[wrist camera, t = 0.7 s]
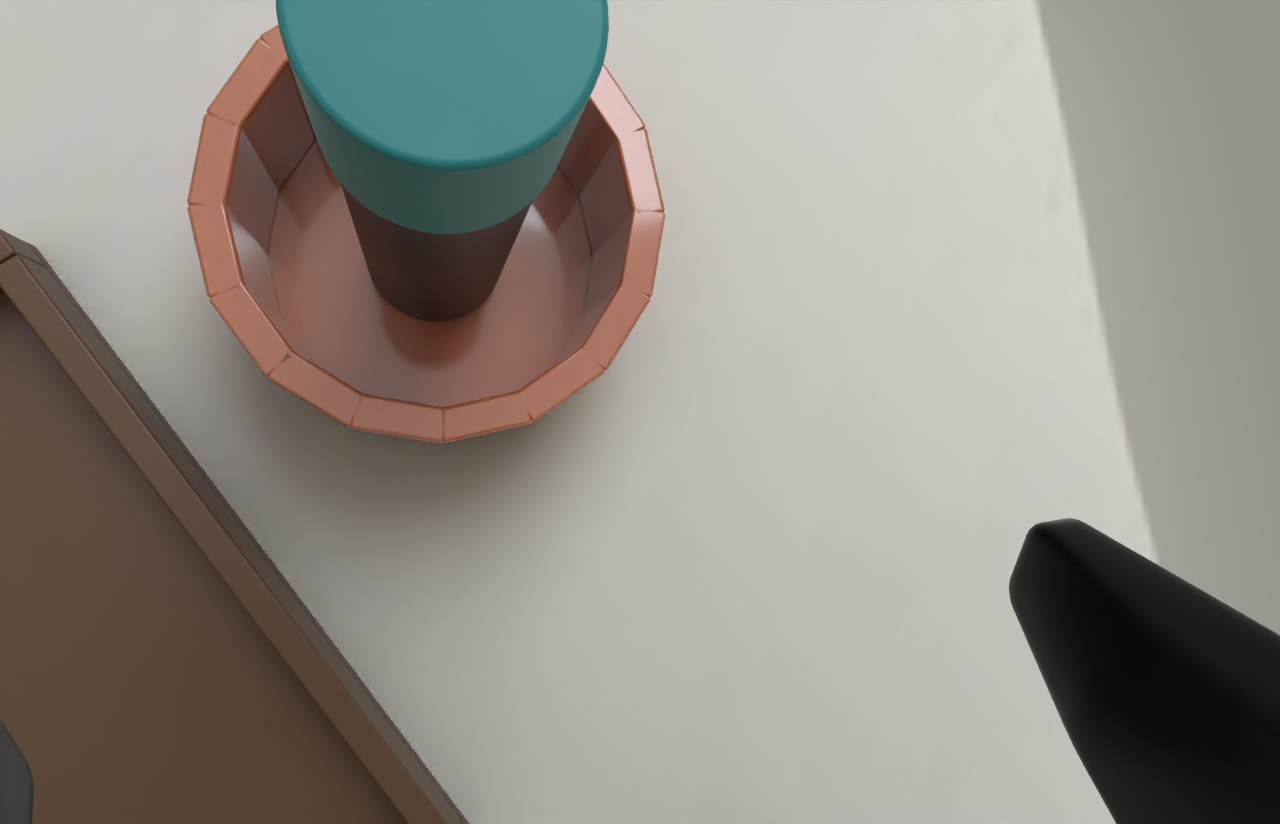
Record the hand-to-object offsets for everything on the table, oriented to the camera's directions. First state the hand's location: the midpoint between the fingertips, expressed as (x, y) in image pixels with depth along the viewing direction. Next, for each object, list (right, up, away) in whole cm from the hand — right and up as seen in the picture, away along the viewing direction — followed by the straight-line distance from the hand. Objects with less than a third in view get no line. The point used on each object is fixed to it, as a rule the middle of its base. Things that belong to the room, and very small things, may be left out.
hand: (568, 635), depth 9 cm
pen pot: (-4, +5, +13) cm, 15 cm away
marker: (-4, +5, +13) cm, 14 cm away
